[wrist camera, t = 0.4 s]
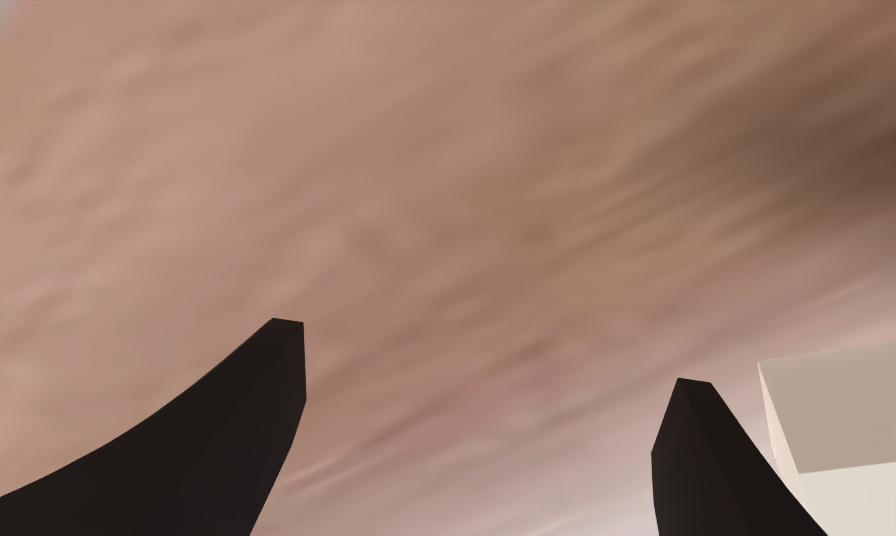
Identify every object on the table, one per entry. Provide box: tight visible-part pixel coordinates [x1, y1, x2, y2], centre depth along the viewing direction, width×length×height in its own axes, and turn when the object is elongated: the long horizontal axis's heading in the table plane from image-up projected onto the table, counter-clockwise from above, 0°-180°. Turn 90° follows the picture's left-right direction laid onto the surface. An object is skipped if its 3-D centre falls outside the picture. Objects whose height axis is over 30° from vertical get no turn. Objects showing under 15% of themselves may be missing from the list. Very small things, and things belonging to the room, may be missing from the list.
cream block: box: [758, 338, 896, 536], centre depth 23 cm, size 4×4×5 cm
